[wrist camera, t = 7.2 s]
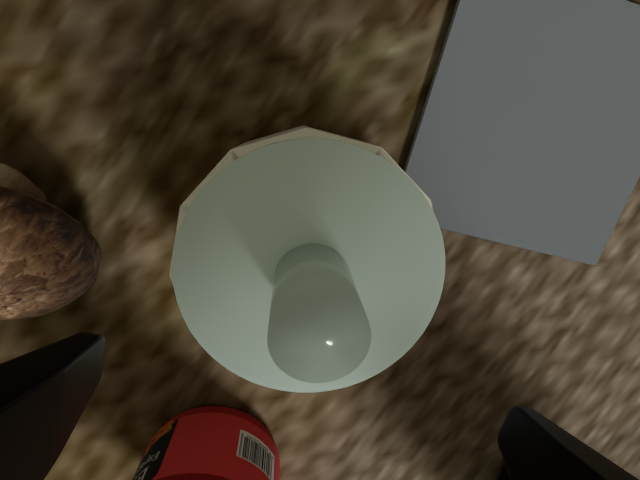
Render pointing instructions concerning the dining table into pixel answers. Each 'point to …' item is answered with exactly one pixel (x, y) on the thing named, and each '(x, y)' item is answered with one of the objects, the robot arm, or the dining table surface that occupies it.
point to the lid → (308, 265)
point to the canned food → (211, 448)
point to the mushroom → (40, 251)
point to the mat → (533, 123)
